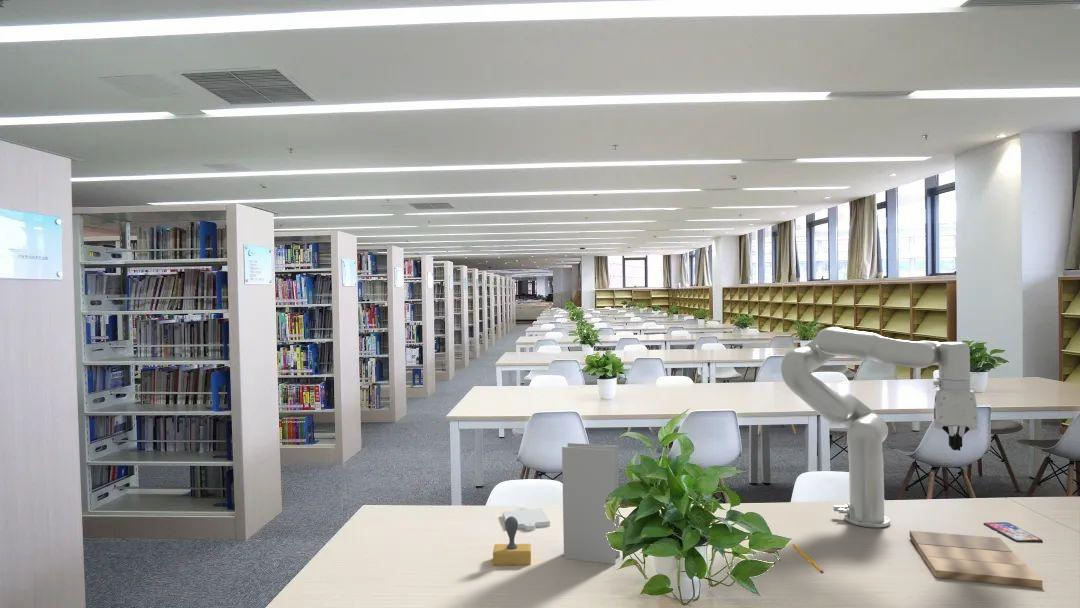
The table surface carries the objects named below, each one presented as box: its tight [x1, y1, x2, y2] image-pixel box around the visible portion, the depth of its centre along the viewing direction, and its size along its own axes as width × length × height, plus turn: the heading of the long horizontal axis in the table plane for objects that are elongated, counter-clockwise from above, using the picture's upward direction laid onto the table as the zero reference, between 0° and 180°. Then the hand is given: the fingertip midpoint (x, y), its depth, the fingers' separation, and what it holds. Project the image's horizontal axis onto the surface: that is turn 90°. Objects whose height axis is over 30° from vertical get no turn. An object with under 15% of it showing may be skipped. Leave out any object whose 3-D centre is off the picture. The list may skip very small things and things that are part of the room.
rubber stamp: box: [492, 516, 532, 566], centre depth 174 cm, size 10×6×12 cm, turn 90°
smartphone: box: [983, 521, 1044, 543], centre depth 188 cm, size 8×1×15 cm
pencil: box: [792, 543, 825, 574], centre depth 173 cm, size 1×19×1 cm, turn 0°
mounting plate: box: [501, 507, 551, 532], centre depth 205 cm, size 18×13×2 cm
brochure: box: [561, 442, 621, 565], centre depth 175 cm, size 14×6×30 cm, turn 71°
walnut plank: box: [909, 530, 1013, 552], centre depth 177 cm, size 22×9×2 cm, turn 72°
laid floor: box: [917, 544, 1043, 589], centre depth 164 cm, size 22×18×2 cm
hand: (955, 449), depth 185 cm, fingers closed
